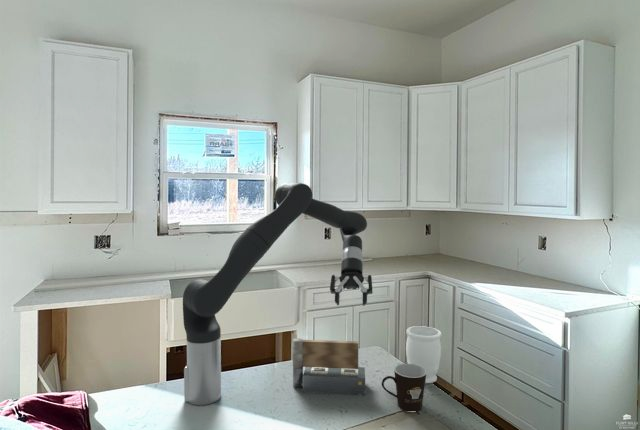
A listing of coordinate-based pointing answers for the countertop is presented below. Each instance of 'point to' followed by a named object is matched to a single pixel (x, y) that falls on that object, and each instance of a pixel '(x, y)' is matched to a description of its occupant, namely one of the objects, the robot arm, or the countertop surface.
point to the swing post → (297, 377)
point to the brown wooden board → (325, 354)
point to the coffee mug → (408, 386)
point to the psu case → (334, 380)
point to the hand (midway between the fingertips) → (350, 304)
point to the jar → (424, 349)
